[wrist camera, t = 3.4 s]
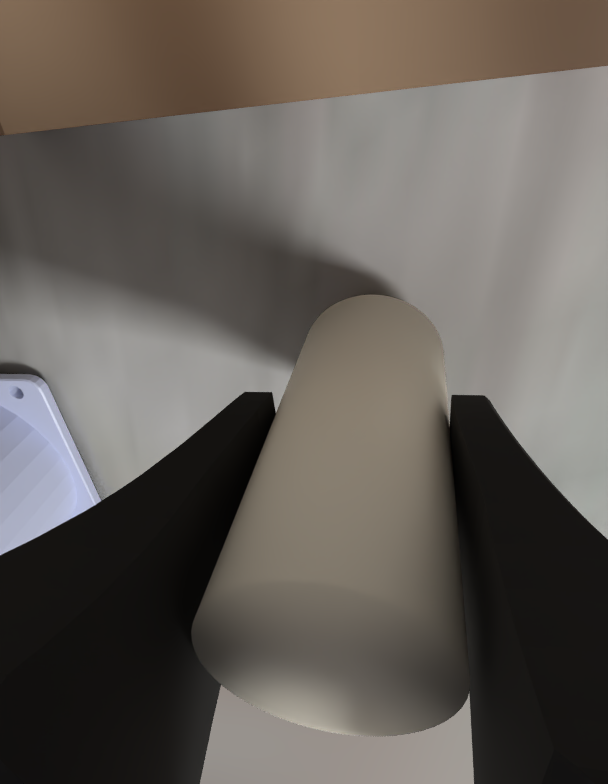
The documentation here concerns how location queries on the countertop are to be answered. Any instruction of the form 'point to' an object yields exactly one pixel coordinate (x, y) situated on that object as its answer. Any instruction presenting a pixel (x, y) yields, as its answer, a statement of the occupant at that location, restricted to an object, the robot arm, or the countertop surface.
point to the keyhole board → (268, 52)
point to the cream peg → (348, 539)
